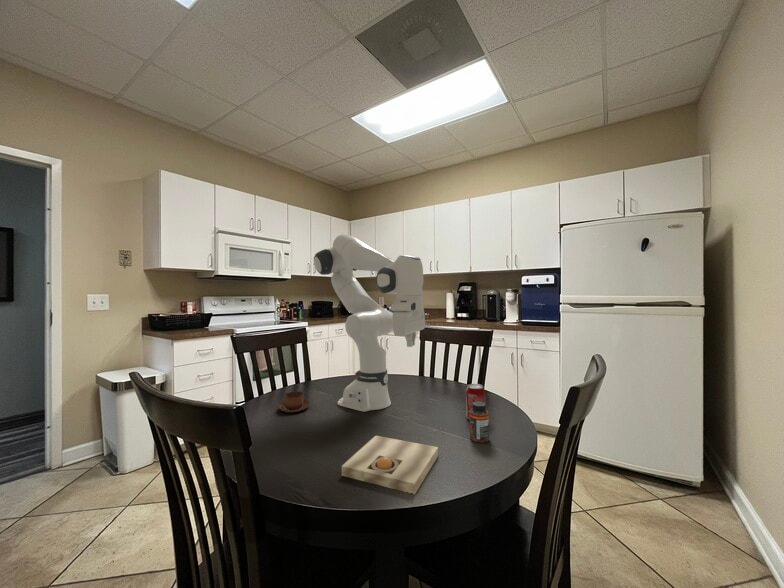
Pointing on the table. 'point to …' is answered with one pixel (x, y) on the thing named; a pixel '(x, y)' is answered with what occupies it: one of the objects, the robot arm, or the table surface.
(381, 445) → the light wooden flat slab
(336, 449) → the table surface
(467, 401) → the soda can
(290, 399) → the cup and saucer
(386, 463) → the ball
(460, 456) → the table surface
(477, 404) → the supplement bottle
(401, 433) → the table surface
